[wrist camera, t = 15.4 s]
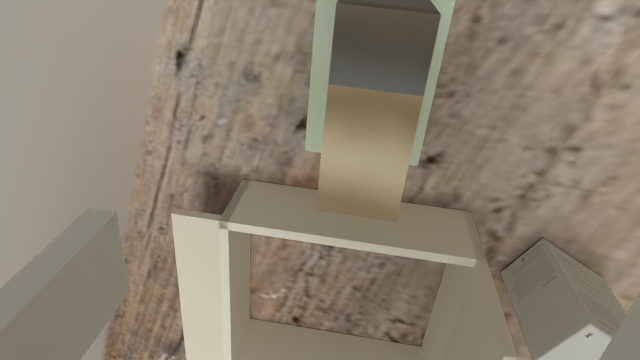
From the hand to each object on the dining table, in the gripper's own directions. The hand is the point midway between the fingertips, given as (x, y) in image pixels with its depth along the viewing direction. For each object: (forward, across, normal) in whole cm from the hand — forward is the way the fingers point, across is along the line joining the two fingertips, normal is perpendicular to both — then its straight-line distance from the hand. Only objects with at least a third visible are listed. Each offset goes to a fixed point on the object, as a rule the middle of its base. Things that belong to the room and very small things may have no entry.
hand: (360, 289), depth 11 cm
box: (+26, 0, +1) cm, 26 cm away
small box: (+26, -20, +19) cm, 38 cm away
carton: (+26, +2, +23) cm, 35 cm away
